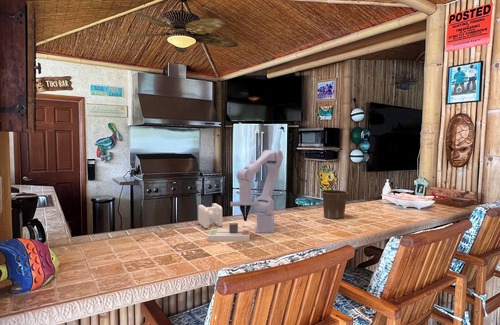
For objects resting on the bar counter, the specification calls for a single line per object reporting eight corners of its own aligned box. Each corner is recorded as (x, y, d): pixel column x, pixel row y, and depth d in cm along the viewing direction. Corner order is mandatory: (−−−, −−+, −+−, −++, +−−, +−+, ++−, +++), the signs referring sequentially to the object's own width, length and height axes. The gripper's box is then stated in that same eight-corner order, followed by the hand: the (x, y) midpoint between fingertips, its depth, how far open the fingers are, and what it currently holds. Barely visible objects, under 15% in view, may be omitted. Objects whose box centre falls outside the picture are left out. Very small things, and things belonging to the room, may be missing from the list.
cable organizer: (223, 228, 174) (223, 207, 173) (204, 230, 169) (204, 208, 168) (214, 221, 187) (214, 202, 186) (197, 223, 183) (197, 204, 182)
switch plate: (250, 233, 162) (250, 229, 162) (249, 241, 150) (249, 236, 150) (211, 233, 162) (211, 229, 162) (207, 241, 150) (207, 235, 150)
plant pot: (350, 216, 200) (351, 191, 199) (343, 221, 186) (344, 194, 185) (325, 213, 209) (326, 189, 208) (317, 218, 195) (317, 192, 194)
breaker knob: (237, 230, 157) (237, 223, 157) (237, 232, 154) (237, 224, 154) (229, 230, 157) (229, 223, 157) (229, 232, 154) (229, 224, 154)
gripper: (229, 194, 151) (230, 222, 151) (260, 194, 150) (260, 222, 151) (231, 192, 158) (231, 219, 159) (260, 192, 157) (260, 219, 158)
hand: (245, 220), depth 155 cm, fingers closed
